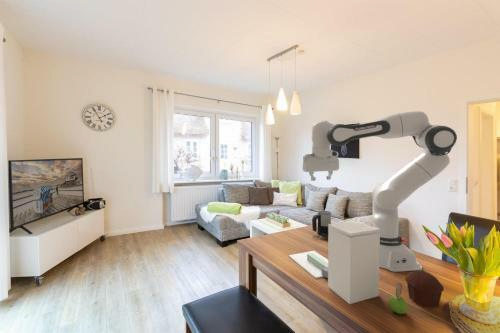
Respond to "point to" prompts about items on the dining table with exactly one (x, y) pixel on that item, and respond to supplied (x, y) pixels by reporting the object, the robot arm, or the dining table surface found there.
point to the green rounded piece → (398, 301)
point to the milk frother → (321, 222)
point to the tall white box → (353, 260)
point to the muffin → (424, 289)
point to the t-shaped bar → (318, 263)
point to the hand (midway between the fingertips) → (321, 180)
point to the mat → (308, 263)
